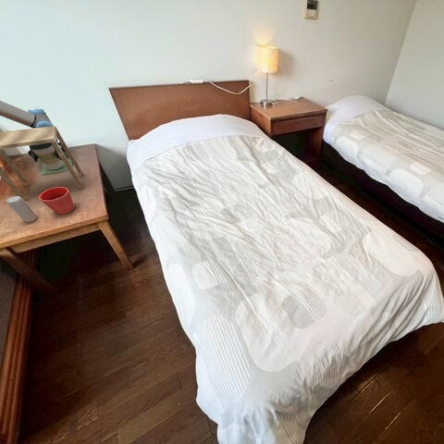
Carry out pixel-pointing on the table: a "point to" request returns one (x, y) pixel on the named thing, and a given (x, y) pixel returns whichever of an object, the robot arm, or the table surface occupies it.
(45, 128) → the wooden frame stand
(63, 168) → the felt mat
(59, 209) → the flower pot
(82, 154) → the table surface
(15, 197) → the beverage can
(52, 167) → the coffee cup
